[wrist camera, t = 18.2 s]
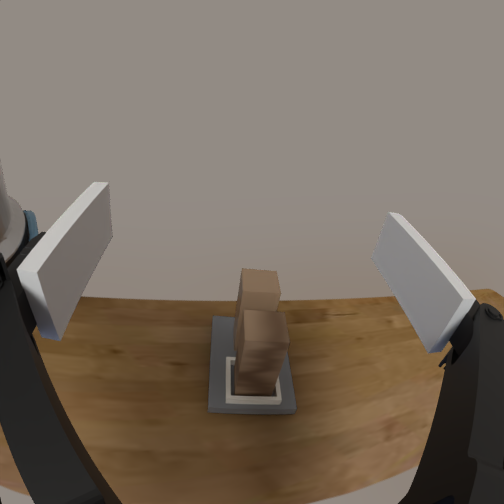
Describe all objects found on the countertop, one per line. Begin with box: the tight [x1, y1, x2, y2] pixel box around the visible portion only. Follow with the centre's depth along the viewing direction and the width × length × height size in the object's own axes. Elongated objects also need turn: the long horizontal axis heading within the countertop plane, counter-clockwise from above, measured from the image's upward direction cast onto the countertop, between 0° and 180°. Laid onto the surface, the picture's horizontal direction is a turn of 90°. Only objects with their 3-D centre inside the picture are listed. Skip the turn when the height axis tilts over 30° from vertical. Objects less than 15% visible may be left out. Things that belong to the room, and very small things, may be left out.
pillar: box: [234, 310, 290, 397], centre depth 38 cm, size 5×5×12 cm
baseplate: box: [208, 268, 297, 414], centre depth 43 cm, size 12×18×14 cm, turn 3°
